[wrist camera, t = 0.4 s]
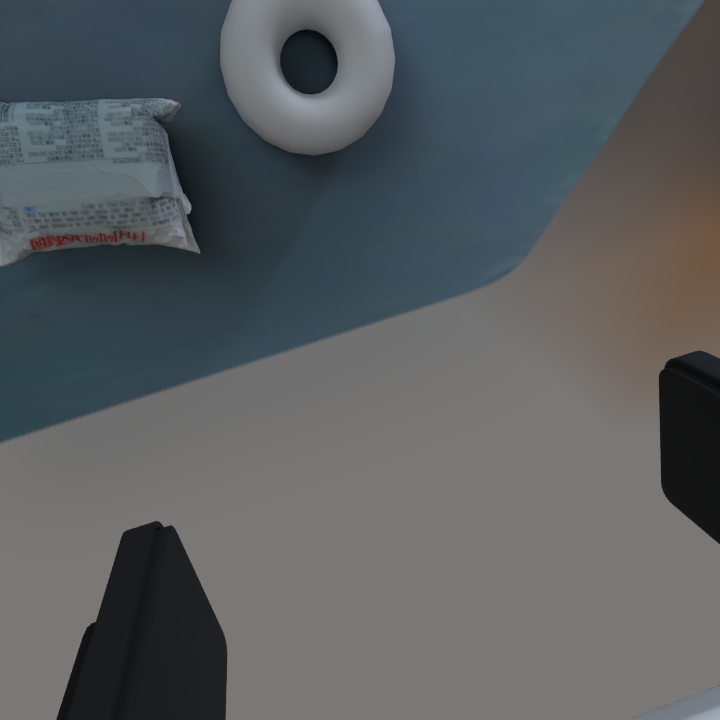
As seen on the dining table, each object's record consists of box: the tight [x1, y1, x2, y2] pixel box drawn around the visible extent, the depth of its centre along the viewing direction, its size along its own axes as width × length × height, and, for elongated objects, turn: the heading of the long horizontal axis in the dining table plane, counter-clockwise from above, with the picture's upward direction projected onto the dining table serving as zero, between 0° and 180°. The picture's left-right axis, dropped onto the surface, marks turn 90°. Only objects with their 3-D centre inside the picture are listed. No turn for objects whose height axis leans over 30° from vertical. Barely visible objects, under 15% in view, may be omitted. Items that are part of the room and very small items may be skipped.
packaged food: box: [0, 98, 200, 267], centre depth 31 cm, size 9×12×5 cm
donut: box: [220, 0, 395, 156], centre depth 32 cm, size 10×4×10 cm
